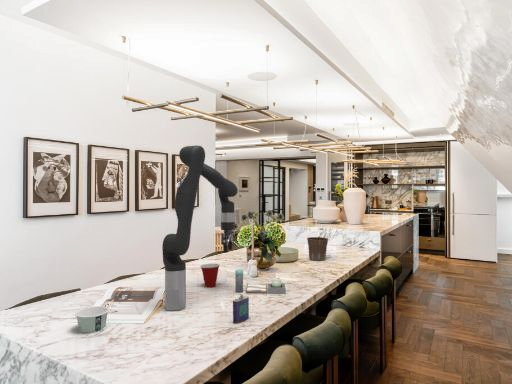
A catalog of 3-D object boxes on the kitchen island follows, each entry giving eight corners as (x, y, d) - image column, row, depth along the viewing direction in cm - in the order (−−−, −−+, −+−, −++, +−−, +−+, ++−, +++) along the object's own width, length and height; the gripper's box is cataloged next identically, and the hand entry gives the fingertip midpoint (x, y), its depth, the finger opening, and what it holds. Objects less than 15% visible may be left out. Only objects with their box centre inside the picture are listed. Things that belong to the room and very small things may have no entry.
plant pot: (331, 258, 278) (331, 237, 278) (323, 262, 264) (323, 240, 264) (311, 256, 287) (312, 236, 286) (303, 260, 273) (303, 238, 273)
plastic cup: (207, 282, 207) (207, 261, 207) (223, 285, 202) (223, 263, 202) (196, 287, 197) (196, 265, 197) (212, 289, 192) (212, 267, 192)
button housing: (285, 294, 185) (285, 288, 185) (267, 293, 185) (267, 288, 185) (284, 289, 194) (284, 283, 194) (267, 288, 194) (267, 283, 194)
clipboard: (267, 293, 186) (267, 290, 186) (245, 293, 186) (245, 290, 186) (267, 285, 202) (267, 282, 202) (247, 285, 202) (247, 282, 202)
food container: (70, 328, 140) (70, 311, 140) (101, 320, 148) (101, 304, 148) (81, 337, 131) (81, 319, 131) (114, 328, 140) (114, 311, 140)
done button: (281, 289, 187) (281, 282, 187) (271, 289, 187) (271, 282, 187) (281, 287, 192) (281, 279, 192) (271, 287, 192) (271, 279, 192)
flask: (245, 316, 153) (245, 291, 152) (251, 317, 151) (251, 292, 151) (231, 322, 145) (231, 296, 145) (237, 324, 143) (237, 297, 143)
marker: (242, 292, 187) (242, 271, 187) (235, 292, 187) (235, 271, 187) (243, 290, 191) (243, 269, 191) (235, 290, 191) (235, 269, 191)
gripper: (230, 222, 186) (230, 253, 186) (238, 219, 200) (238, 249, 200) (216, 222, 187) (216, 253, 188) (225, 219, 201) (225, 248, 201)
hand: (227, 251), depth 194 cm, fingers open, 8 cm apart
